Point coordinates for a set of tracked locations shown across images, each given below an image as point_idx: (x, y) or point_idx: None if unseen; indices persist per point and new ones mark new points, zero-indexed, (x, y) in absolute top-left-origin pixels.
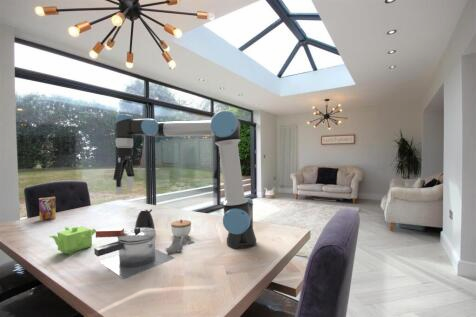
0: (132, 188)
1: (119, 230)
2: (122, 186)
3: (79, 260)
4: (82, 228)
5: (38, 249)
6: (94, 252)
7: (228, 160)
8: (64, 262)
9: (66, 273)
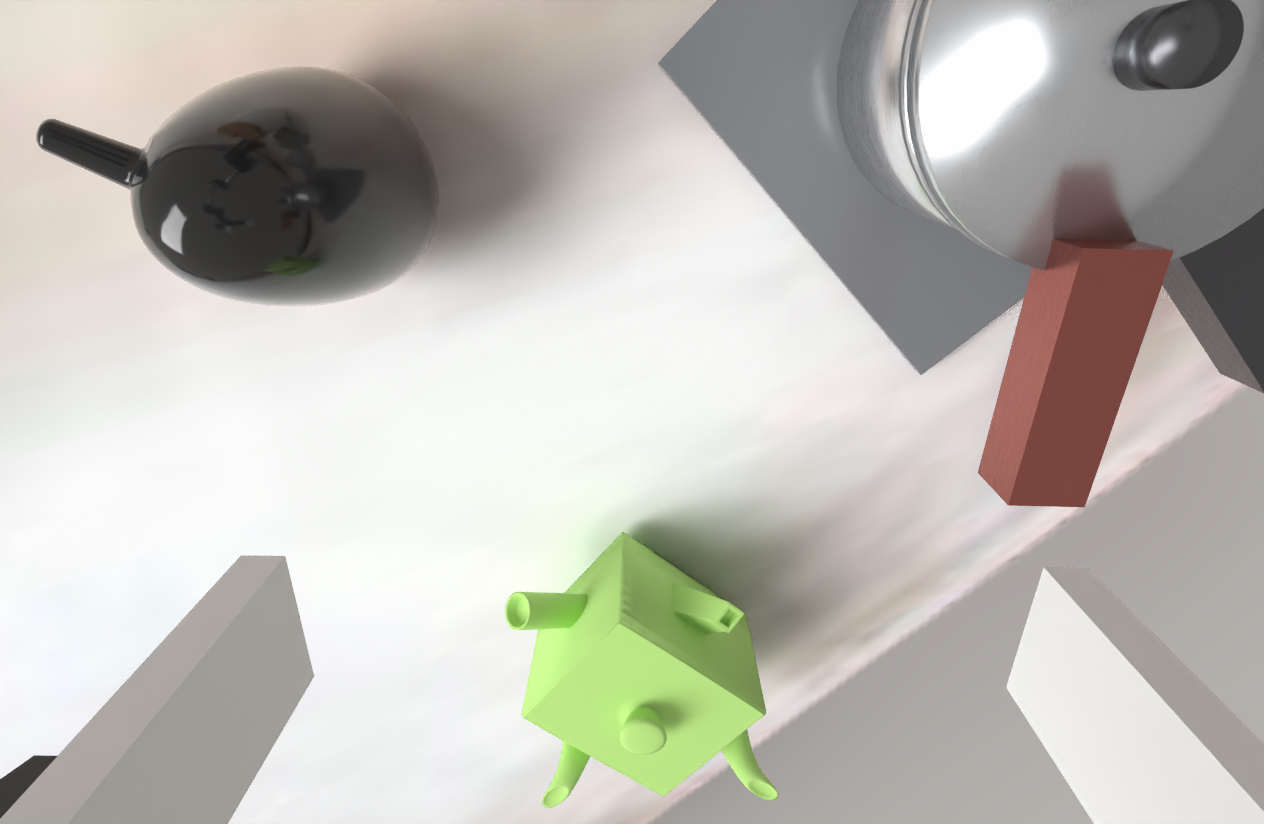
0: (241, 572)
1: (1167, 268)
2: (1228, 739)
3: (816, 512)
4: (583, 692)
5: (590, 784)
6: (1233, 378)
7: None
8: (825, 579)
9: (997, 499)
